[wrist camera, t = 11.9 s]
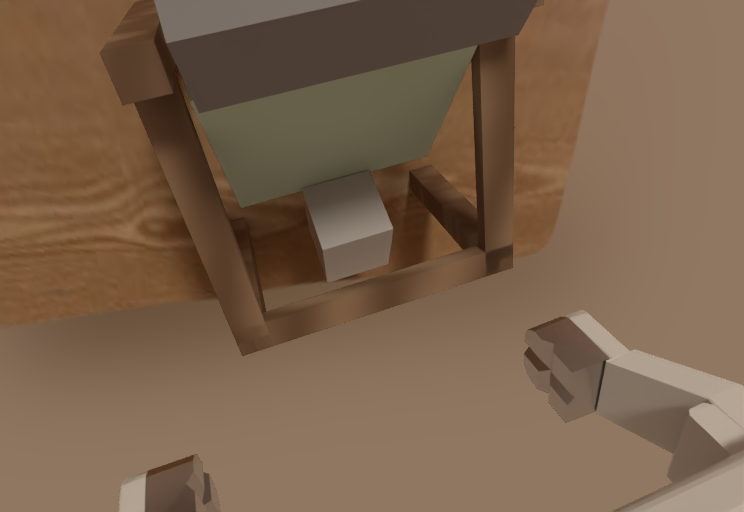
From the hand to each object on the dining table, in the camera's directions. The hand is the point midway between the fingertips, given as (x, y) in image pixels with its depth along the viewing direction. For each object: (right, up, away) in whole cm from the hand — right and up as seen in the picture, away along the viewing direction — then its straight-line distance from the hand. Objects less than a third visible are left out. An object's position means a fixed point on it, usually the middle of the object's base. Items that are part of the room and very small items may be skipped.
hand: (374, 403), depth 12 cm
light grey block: (-2, +7, +23) cm, 24 cm away
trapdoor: (-3, +15, +15) cm, 21 cm away
